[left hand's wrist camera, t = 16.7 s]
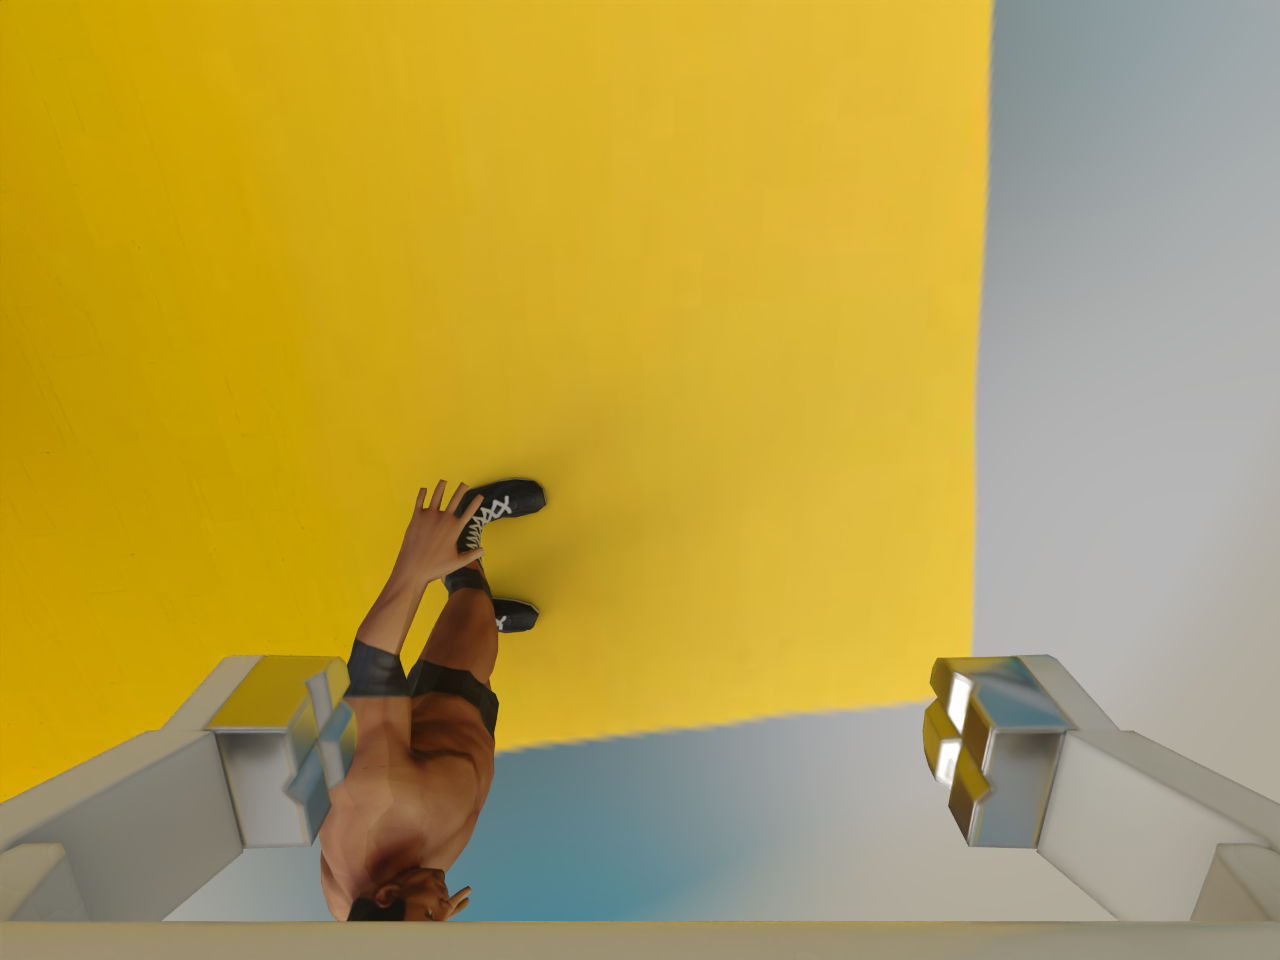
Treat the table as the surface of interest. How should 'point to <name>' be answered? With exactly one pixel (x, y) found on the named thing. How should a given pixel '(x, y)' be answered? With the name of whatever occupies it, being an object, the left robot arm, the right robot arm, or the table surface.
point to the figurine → (423, 717)
